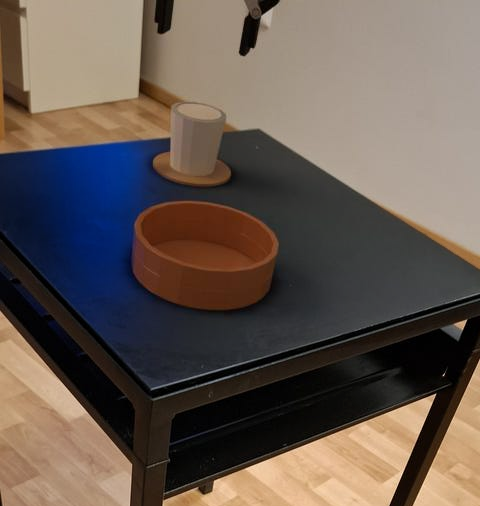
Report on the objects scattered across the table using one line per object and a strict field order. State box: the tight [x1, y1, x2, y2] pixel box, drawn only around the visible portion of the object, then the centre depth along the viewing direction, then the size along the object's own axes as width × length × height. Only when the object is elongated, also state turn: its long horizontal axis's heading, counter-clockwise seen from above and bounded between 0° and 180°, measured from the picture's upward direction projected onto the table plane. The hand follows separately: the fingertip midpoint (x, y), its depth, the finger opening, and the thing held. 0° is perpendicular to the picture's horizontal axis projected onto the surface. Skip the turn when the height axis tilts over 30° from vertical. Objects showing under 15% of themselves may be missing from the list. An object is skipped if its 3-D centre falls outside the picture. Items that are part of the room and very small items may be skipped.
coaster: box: [152, 151, 232, 188], centre depth 94 cm, size 10×10×1 cm
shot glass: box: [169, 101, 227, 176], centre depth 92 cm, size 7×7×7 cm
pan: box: [130, 200, 280, 311], centre depth 74 cm, size 14×14×4 cm
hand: (203, 42), depth 84 cm, fingers open, 9 cm apart
